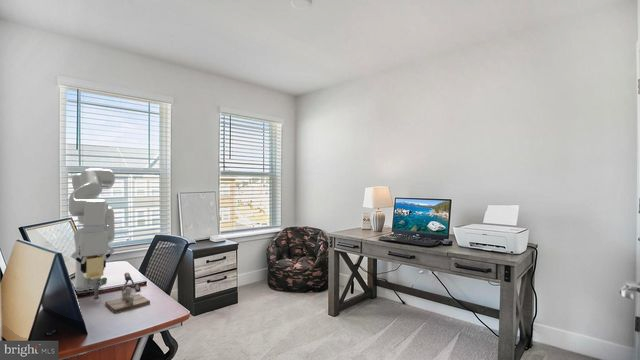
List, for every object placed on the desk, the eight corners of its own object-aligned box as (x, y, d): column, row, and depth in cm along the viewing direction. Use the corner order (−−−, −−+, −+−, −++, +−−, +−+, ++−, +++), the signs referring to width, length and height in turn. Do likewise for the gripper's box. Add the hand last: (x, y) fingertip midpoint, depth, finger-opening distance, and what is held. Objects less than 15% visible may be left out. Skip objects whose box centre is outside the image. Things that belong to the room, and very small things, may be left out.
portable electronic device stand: (140, 291, 161) (140, 275, 161) (122, 294, 156) (122, 277, 156) (138, 286, 168) (139, 270, 168) (121, 289, 164) (121, 273, 164)
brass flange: (81, 274, 137) (81, 255, 137) (97, 271, 141) (97, 253, 141) (88, 280, 129) (88, 260, 129) (105, 276, 133) (105, 258, 134)
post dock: (105, 305, 142) (105, 288, 142) (138, 297, 153) (139, 281, 153) (114, 313, 134) (115, 295, 134) (149, 303, 144) (150, 287, 144)
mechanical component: (102, 299, 148) (102, 278, 148) (84, 298, 150) (84, 277, 150) (107, 297, 151) (108, 276, 151) (90, 295, 153) (90, 275, 153)
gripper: (114, 226, 144) (113, 265, 144) (67, 230, 131) (66, 273, 131) (119, 228, 139) (118, 268, 139) (71, 232, 126) (70, 277, 126)
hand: (93, 270), depth 135 cm, fingers closed on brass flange, 5 cm apart
